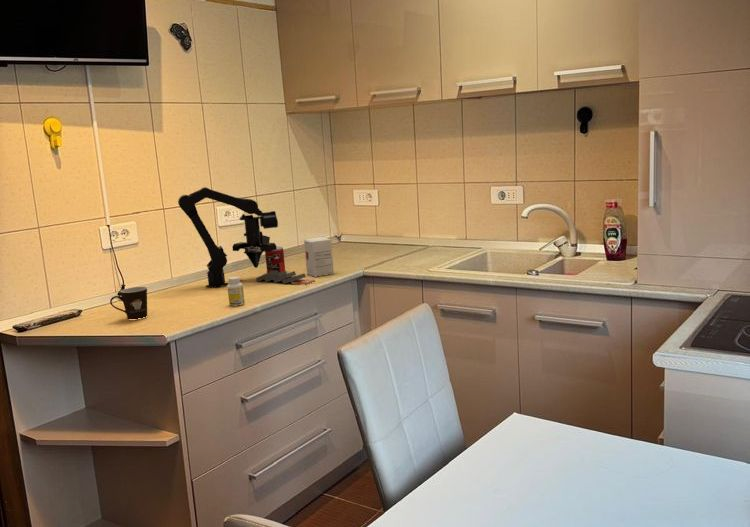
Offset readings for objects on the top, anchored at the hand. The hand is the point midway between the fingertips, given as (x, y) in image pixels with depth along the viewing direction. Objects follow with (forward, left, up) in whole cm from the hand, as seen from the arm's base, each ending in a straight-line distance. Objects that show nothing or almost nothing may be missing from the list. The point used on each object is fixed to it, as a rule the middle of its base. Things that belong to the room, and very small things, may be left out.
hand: (256, 267), depth 288 cm
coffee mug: (-61, +6, -6) cm, 62 cm away
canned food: (+15, +1, -6) cm, 16 cm away
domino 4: (-1, -15, -5) cm, 16 cm away
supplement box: (+16, -21, -6) cm, 27 cm away
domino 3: (0, -11, -5) cm, 12 cm away
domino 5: (0, -19, -5) cm, 20 cm away
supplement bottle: (-36, -19, -6) cm, 41 cm away
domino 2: (0, -6, -5) cm, 8 cm away
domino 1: (0, -1, -5) cm, 5 cm away
